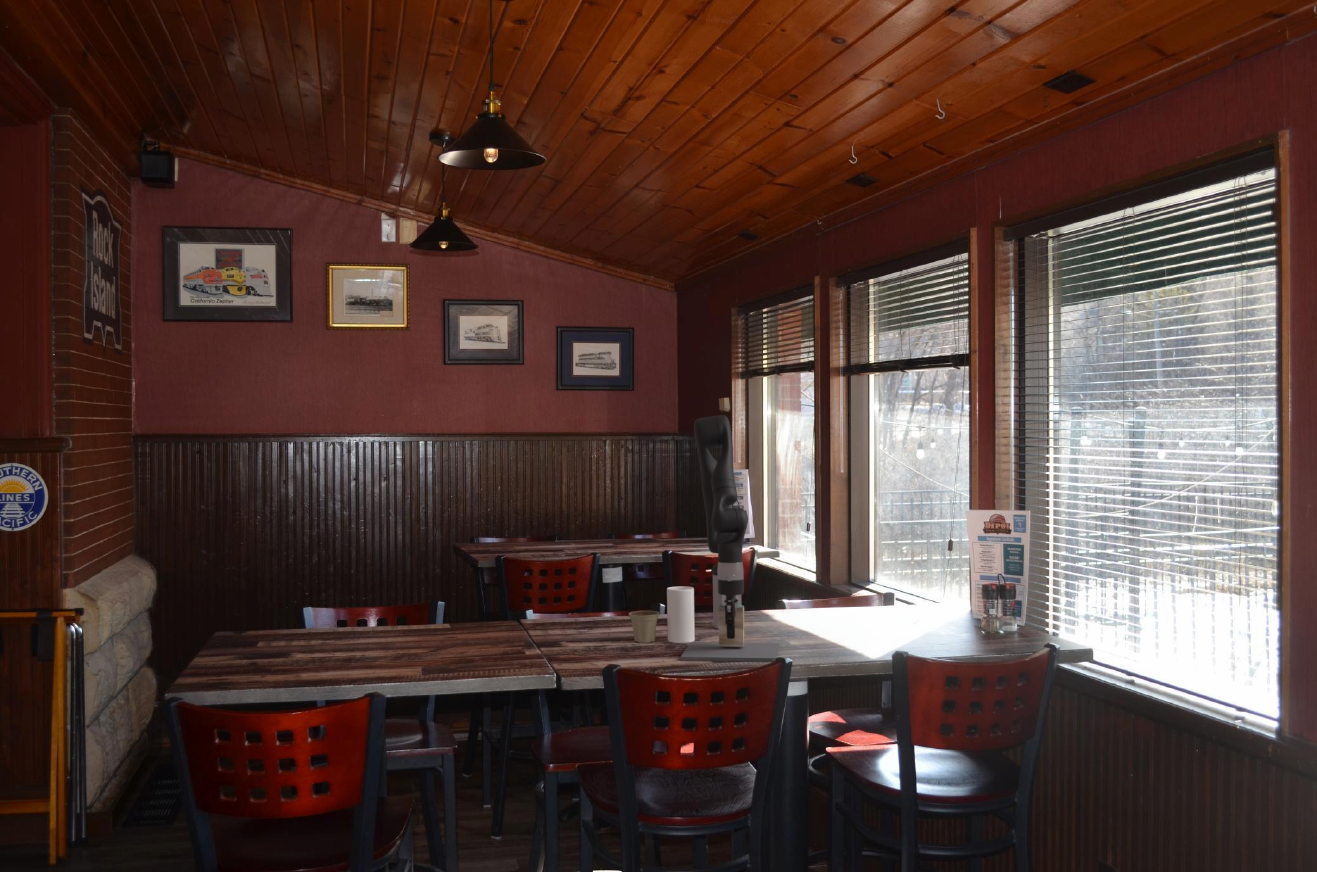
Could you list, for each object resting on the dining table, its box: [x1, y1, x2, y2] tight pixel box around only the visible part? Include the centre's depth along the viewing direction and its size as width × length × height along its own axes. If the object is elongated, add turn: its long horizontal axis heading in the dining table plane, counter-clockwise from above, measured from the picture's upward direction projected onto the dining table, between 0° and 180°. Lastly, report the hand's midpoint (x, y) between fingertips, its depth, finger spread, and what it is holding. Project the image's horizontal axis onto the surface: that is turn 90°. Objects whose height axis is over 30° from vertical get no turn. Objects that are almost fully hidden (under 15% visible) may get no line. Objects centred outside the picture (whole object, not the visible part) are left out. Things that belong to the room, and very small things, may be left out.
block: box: [718, 605, 746, 646], centre depth 309 cm, size 4×7×11 cm, turn 81°
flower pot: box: [628, 610, 660, 644], centre depth 328 cm, size 9×9×9 cm
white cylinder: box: [666, 585, 696, 644], centre depth 328 cm, size 8×8×16 cm
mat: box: [680, 641, 780, 663], centre depth 306 cm, size 22×26×1 cm
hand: (731, 636), depth 309 cm, fingers closed on block, 4 cm apart
